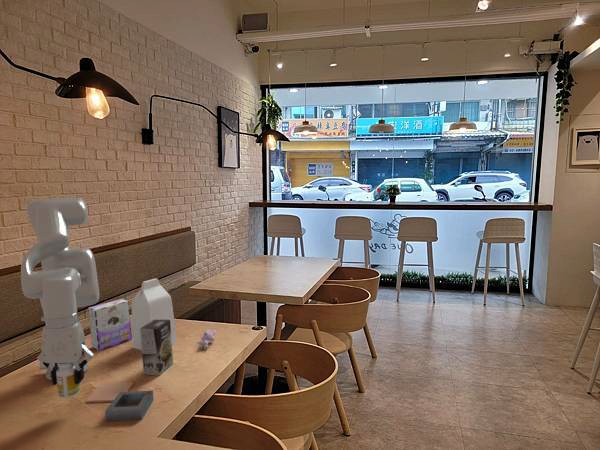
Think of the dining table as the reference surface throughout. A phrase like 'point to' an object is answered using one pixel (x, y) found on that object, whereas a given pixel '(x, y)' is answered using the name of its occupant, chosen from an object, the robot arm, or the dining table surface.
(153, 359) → the coffee box
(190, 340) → the dining table surface
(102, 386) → the pad
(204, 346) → the rabbit figure
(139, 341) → the milk
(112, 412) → the sleeve
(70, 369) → the supplement bottle
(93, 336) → the candy box
